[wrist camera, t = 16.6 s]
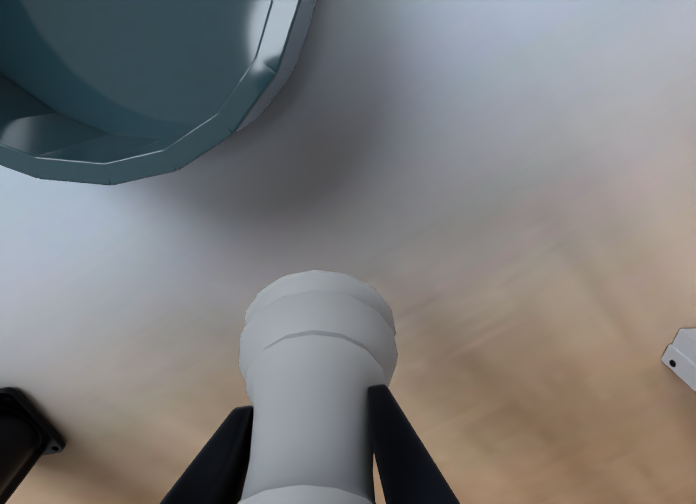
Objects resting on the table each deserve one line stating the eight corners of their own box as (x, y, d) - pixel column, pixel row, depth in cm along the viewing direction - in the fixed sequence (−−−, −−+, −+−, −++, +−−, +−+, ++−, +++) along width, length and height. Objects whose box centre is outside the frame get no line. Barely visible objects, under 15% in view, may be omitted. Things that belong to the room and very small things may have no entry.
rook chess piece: (419, 289, 10) (587, 761, 3) (359, 390, 12) (388, 828, 5) (270, 238, 10) (80, 730, 3) (231, 355, 11) (59, 824, 4)
